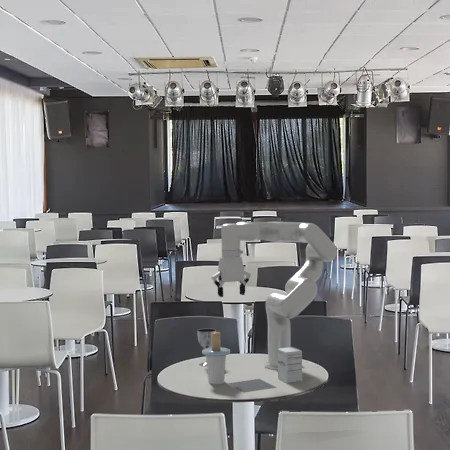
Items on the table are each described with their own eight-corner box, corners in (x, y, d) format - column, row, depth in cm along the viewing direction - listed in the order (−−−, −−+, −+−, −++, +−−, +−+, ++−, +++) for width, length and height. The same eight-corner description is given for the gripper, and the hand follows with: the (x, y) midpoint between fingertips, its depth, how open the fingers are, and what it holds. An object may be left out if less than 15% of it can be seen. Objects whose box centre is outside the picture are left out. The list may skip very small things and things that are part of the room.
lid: (222, 348, 313) (222, 328, 312) (234, 354, 303) (234, 333, 302) (197, 351, 308) (197, 331, 308) (209, 357, 298) (208, 336, 298)
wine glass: (205, 361, 342) (205, 327, 341) (220, 363, 337) (219, 329, 336) (194, 364, 336) (193, 330, 335) (209, 367, 331) (208, 332, 330)
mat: (259, 379, 310) (259, 378, 310) (276, 388, 297) (276, 387, 297) (227, 384, 304) (227, 383, 304) (243, 393, 291) (243, 392, 291)
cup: (224, 386, 302) (223, 355, 301) (204, 385, 303) (203, 354, 303) (228, 380, 310) (227, 350, 309) (208, 379, 311) (208, 350, 310)
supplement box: (277, 379, 310) (277, 348, 309) (293, 377, 313) (293, 346, 312) (286, 384, 303) (285, 352, 302) (302, 381, 306) (302, 350, 305)
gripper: (245, 251, 324) (246, 292, 325) (207, 254, 317) (208, 296, 318) (254, 253, 317) (254, 295, 319) (215, 256, 310) (216, 298, 311)
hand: (231, 295), depth 318 cm, fingers open, 9 cm apart
